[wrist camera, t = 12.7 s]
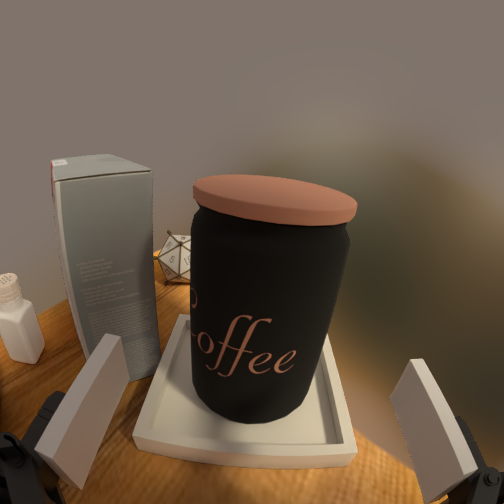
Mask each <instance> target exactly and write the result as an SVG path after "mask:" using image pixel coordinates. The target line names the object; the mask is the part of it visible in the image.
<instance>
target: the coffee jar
mask: <svg viewBox="0 0 504 504" xmlns="http://www.w3.org/2000/svg"><path fill="white" fill-rule="evenodd" d="M193 198H194V199H195V200H196V202H197V203H198V205H199V206H200V209H199V210H198V211H197V212H196V214H195V215H194V218H193V223H192V226H191V244H190V335H191V365H192V383H193V385H194V388H195V390H196V393H197V395H198V397H199V398H200V399H201V400H202V401H203V402H204V403H205V404H206V405H207V406H208V407H209V409H210V410H211V411H213V412H215V413H217V414H219V415H220V416H222V417H224V418H226V419H228V420H230V421H234V422H239V423H243V424H265V423H269V422H272V421H275V420H278V419H281V418H284V417H286V416H287V415H289V414H290V413H291V412H293V411H294V410H295V409H297V408H298V407H299V406H300V405H301V404H302V402H303V400H304V399H305V397H306V395H307V393H308V391H309V388H310V385H311V382H312V379H313V376H314V373H315V370H316V367H317V364H318V361H319V358H320V355H321V352H322V348H323V345H324V342H325V339H326V335H327V332H328V328H329V325H330V321H331V318H332V314H333V311H334V307H335V303H336V300H337V296H338V292H339V288H340V284H341V280H342V276H343V272H344V268H345V264H346V259H347V255H348V250H349V246H350V239H349V236H348V233H347V231H346V229H345V228H346V223H347V222H349V221H350V220H351V219H352V218H353V217H354V216H355V213H356V209H357V203H356V201H355V200H354V199H353V198H351V197H350V196H348V195H346V194H344V193H342V192H339V191H336V190H334V189H331V188H327V187H324V186H320V185H316V184H313V183H307V182H302V181H297V180H292V179H285V178H278V177H269V176H258V175H216V176H209V177H204V178H201V179H199V180H196V181H195V183H194V185H193Z"/></svg>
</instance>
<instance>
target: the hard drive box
mask: <svg viewBox="0 0 504 504" xmlns="http://www.w3.org/2000/svg"><path fill="white" fill-rule="evenodd" d="M51 182H52V196H53V209H54V219H55V228H56V236H57V243H58V251H59V257H60V263H61V269H62V274H63V279H64V284H65V288H66V293H67V297H68V302H69V306H70V310H71V313H72V317H73V321H74V324H75V327H76V331H77V334H78V337H79V341H80V344H81V347H82V350H83V353H84V356H85V359H86V361H87V360H88V359H89V357H90V356H91V354H92V353H93V351H94V350H95V348H96V347H97V345H98V344H99V342H100V341H101V339H102V338H103V336H104V335H105V333H107V334H112V335H116V336H121V341H122V346H123V351H124V355H125V360H126V364H127V369H128V373H129V377H130V380H129V382H128V383H130V382H133V381H136V380H139V379H142V378H145V377H148V376H151V375H154V374H155V373H156V370H157V368H158V365H159V363H160V360H161V351H160V342H159V333H158V322H157V310H156V297H155V281H154V262H153V230H152V229H153V224H152V198H153V171H152V169H150V168H147V167H145V166H142V165H139V164H136V163H134V162H131V161H128V160H125V159H122V158H119V157H116V156H113V155H110V154H102V155H89V156H80V157H70V158H62V159H55V160H51Z"/></svg>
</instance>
